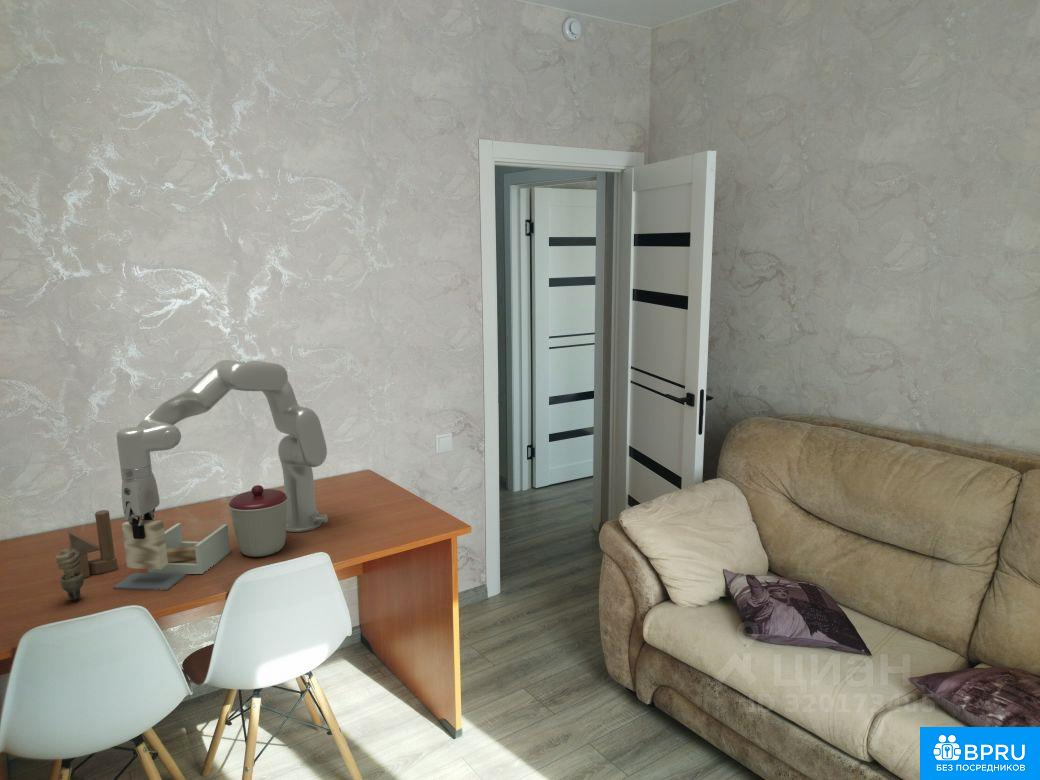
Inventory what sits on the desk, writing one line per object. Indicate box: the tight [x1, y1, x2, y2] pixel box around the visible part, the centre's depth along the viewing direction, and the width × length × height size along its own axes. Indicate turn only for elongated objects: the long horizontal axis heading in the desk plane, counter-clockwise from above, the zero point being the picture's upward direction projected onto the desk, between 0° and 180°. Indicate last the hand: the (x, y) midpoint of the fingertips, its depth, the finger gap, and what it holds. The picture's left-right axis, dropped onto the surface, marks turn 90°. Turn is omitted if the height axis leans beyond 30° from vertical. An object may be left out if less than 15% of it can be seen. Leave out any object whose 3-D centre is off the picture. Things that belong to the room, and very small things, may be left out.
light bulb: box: [55, 547, 85, 602], centre depth 195 cm, size 6×6×15 cm
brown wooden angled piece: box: [67, 509, 119, 579], centre depth 212 cm, size 4×11×18 cm, turn 129°
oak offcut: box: [166, 546, 196, 562], centre depth 216 cm, size 10×4×3 cm, turn 112°
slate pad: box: [112, 572, 187, 591], centre depth 206 cm, size 16×9×1 cm, turn 84°
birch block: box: [121, 519, 168, 570], centre depth 204 cm, size 10×4×13 cm, turn 84°
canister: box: [226, 484, 289, 558], centre depth 225 cm, size 18×18×21 cm
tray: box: [147, 522, 231, 575], centre depth 219 cm, size 16×17×9 cm
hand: (144, 534), depth 204 cm, fingers closed on birch block, 3 cm apart
